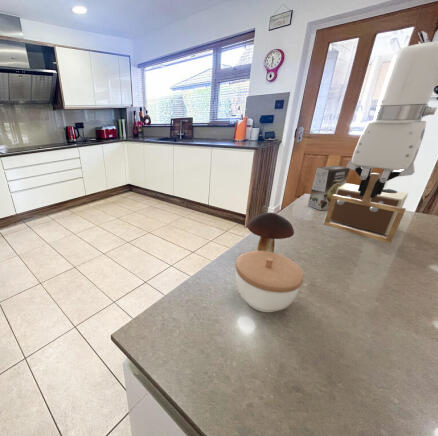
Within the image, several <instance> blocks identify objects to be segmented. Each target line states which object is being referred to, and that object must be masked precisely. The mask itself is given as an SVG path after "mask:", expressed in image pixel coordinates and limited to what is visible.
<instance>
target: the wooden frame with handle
mask: <svg viewBox="0 0 438 436" xmlns="http://www.w3.org/2000/svg"><path fill="white" fill-rule="evenodd" d="M381 175H382V173H380V172H371V174H370V179H369V183H368V185H367V188H366V191H365V194H364V196H363V199H362V200H360V199H355V198H350V197H345V196H340V195H335V194H333V195H332V198H331V201H330V204H329V208H328V209H327V210H326V214H325V218H324V221H323V225H324V226H327V227H330V228H333V229H337V230H341V231H345V232H348V233H351V234H355V235H358V236H361V237H365V238H368V239H372V240H376V241H379V242H383V243H387V244H392V242H393V239H394V237H395V234H396V232H397V230H398V228H399V226H400V223H401V221H402V220H403V217H404V214H405V212H406V210H407V208H406V207H402V208H401V207H396V206H391V205H386V204H381V203H376V202H370V201H371V199H372V198H371V197H370V196H371V193H372V191H373V188H374V185H375V183H376V182H377V181H378V179H379V178H381ZM336 200H341V201H346V202H351V203H356V204H360V205H365V206H370V207H375V208H380V209H384V210H389V211H394V212H397V215H396V217H395V219H394V222H393V224H392V226H391V229H390V231H389V233H388V235H386V236H383V235H380V234H377V233H372V232H368V231H365V230H363V229H362V230H361V229H358V228H355V227H352V226H347V225H343V224H341V223H337V222H336V223H335V222H333V221H331V220H330V219H331V216H332V213H333V210H334V206H335V203H336Z"/></svg>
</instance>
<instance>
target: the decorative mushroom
mask: <svg viewBox="0 0 438 436" xmlns="http://www.w3.org/2000/svg"><path fill="white" fill-rule="evenodd" d="M246 228H247V229H248V231H250V233H252V234H253V235H255V236H257V237H259V240H258V242H257V245H256V250H255V251H268V252H272V253H275V241H276V240H284V239H289V238H292V237H293V236H294V234H295V229H294V227H293V225H292V223H291V222H290V221H289V220H287V219H286V218H285V217H284V216H282V215H279V214H277V213H275V212H263V213H260V214H258V215H255V216H254V217H252V218H251V219H250V220H249V221H248V222H247V223H246Z"/></svg>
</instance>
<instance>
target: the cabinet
mask: <svg viewBox="0 0 438 436" xmlns="http://www.w3.org/2000/svg"><path fill="white" fill-rule="evenodd" d="M359 186H360V184H354V183H347V182H346V183H345V184H343V185H342V186H340V187H338V188H337V191H336V194H335V195H340V196H345V197H350V198H355V199H360V200H362V199H363V196H359V195H360V191H358V189H359ZM396 191H397V190H396ZM408 195H409V192H403V191H397V193H385V192H382V193H381V195H377V196H376V197H375V198H372V199H371V201H370V202H376V203H381V204H386V205H391V206H396V207H401V208H404V207H403V206H404V204H405V202H406V200H407V198H408ZM396 215H397V212H394V211H389V210H384V209H380V208H375V207H370V206H365V205H360V204H356V203H351V202H346V201H341V200H336V203H335V206H334V210H333V213H332V216H331V219H330V221H331V222H336V223H339V224H344V225H346V226H347V225H348V226H350V227H354V228H359V229H362V230H366V231H370V232H374V233H377V234H381V235H386V236H387V235H388V233H389V231H390V229H391V226H392V224H393V222H394V219H395V217H396Z"/></svg>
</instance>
